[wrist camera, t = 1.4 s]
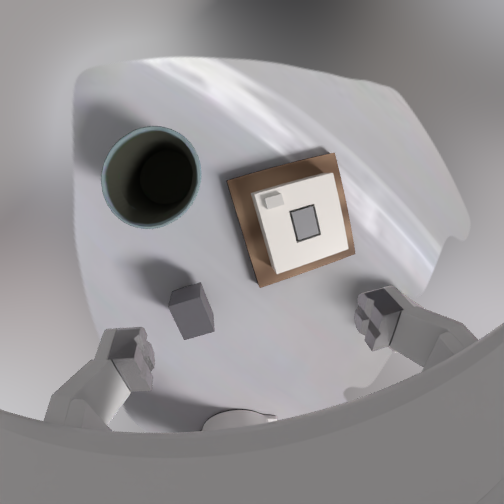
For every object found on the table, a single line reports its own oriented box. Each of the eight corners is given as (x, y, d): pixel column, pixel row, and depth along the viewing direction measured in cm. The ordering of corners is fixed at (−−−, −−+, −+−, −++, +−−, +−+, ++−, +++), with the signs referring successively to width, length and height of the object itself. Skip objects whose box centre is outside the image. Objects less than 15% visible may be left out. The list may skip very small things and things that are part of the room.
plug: (216, 317, 42) (218, 340, 35) (190, 325, 41) (188, 349, 35) (200, 278, 40) (200, 296, 33) (173, 287, 39) (168, 306, 33)
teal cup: (212, 152, 35) (215, 140, 24) (190, 222, 37) (183, 241, 26) (144, 134, 33) (117, 116, 21) (124, 203, 35) (90, 215, 23)
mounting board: (350, 251, 42) (355, 253, 41) (258, 284, 41) (259, 287, 40) (330, 153, 38) (334, 152, 36) (226, 180, 36) (227, 180, 35)
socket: (339, 243, 40) (350, 250, 37) (271, 267, 39) (277, 275, 36) (323, 172, 37) (335, 172, 33) (250, 193, 36) (255, 194, 33)
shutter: (316, 232, 37) (318, 233, 36) (296, 238, 36) (298, 240, 36) (310, 205, 35) (312, 206, 35) (289, 211, 35) (291, 212, 34)
